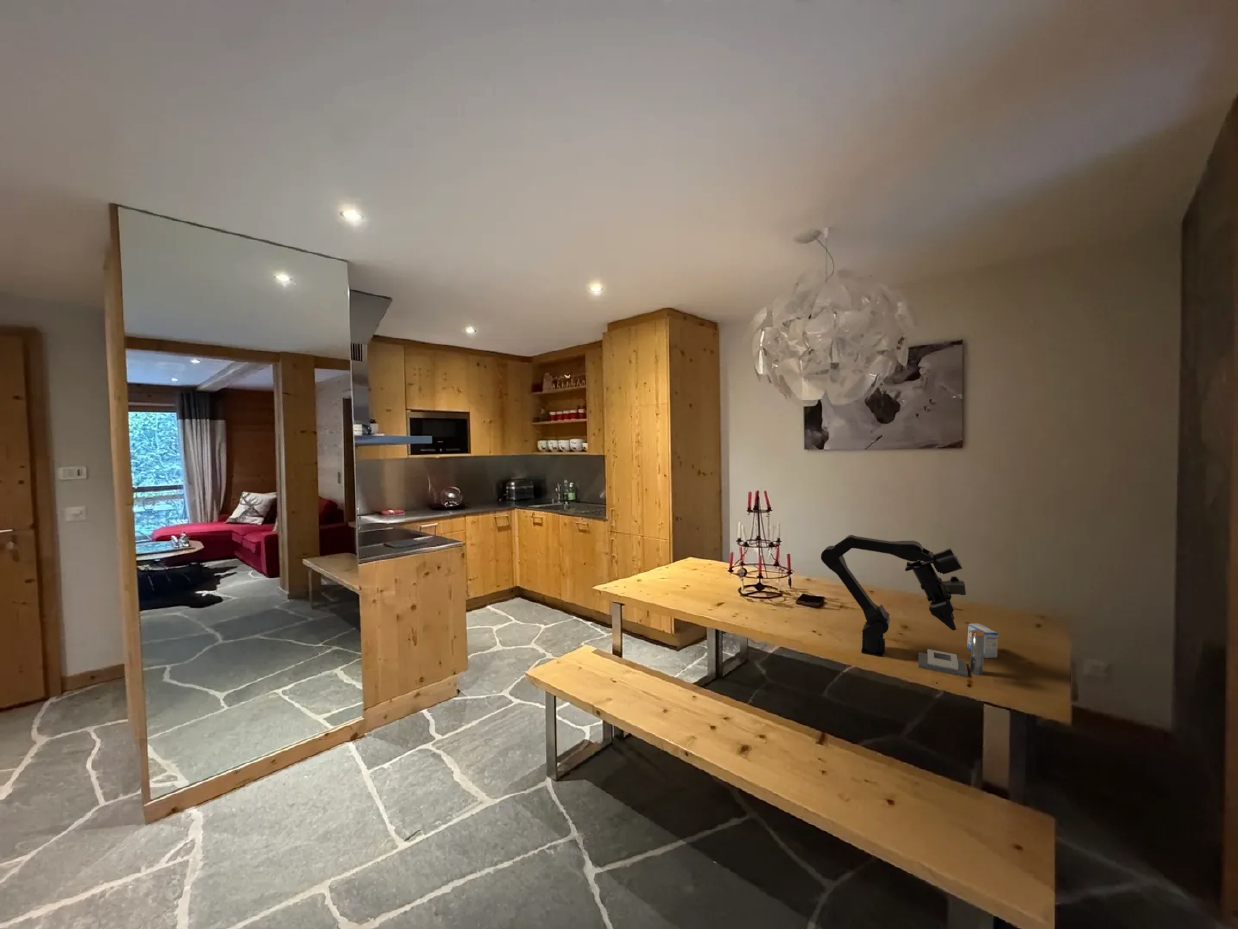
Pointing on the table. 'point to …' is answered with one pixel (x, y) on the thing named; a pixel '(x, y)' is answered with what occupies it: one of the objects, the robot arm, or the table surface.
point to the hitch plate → (960, 666)
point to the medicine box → (985, 640)
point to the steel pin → (977, 652)
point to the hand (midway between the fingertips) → (953, 624)
